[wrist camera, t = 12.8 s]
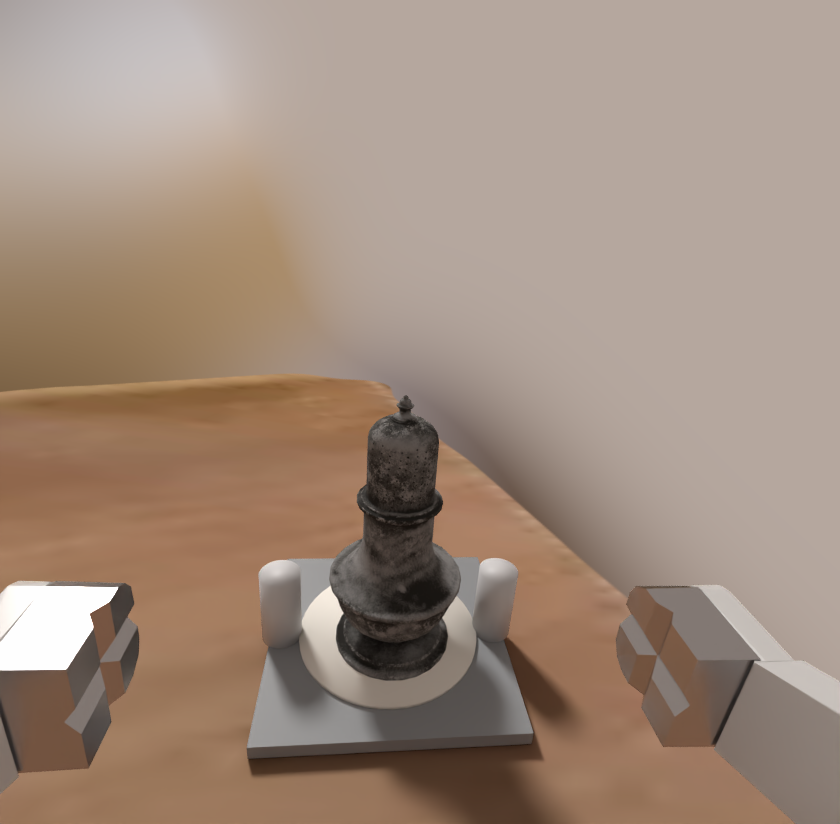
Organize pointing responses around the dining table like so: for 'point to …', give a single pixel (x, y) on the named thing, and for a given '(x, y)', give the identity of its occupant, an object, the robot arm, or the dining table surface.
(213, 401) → the dining table surface
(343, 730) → the pin socket board
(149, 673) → the dining table surface
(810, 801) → the robot arm
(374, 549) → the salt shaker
